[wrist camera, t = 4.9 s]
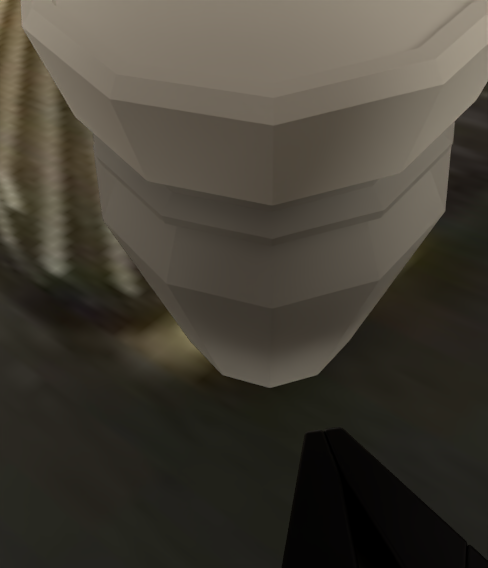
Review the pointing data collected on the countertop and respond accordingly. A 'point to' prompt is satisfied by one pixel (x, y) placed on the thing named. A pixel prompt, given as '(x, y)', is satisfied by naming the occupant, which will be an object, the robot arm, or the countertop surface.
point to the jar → (267, 154)
